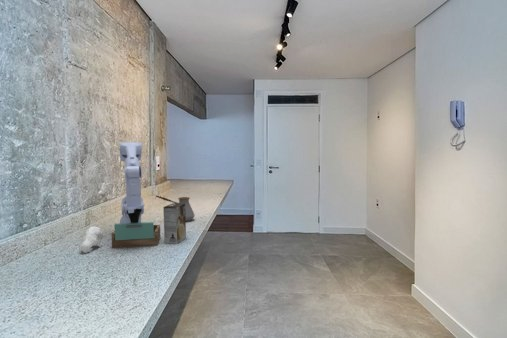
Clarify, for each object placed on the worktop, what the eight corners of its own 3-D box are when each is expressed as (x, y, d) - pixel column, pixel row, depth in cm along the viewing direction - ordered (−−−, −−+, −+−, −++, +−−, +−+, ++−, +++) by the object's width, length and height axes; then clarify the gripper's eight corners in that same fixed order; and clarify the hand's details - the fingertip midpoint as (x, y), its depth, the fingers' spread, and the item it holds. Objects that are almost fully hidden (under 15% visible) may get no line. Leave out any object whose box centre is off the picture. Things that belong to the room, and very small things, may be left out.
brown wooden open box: (118, 239, 142) (118, 226, 142) (160, 237, 146) (160, 224, 145) (112, 248, 131) (111, 233, 130) (157, 245, 134) (157, 231, 133)
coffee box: (173, 237, 146) (172, 202, 145) (186, 238, 145) (185, 203, 143) (163, 243, 137) (163, 206, 136) (177, 244, 136) (176, 207, 134)
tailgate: (116, 239, 132) (115, 223, 130) (154, 237, 134) (153, 221, 133) (115, 240, 130) (113, 225, 129) (153, 238, 133) (152, 223, 131)
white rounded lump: (103, 224, 134) (90, 235, 122) (104, 243, 136) (92, 256, 124) (87, 225, 134) (73, 235, 122) (89, 244, 135) (75, 256, 123)
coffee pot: (193, 217, 186) (193, 192, 185) (195, 222, 176) (195, 195, 174) (155, 220, 180) (154, 194, 179) (155, 224, 169) (154, 197, 168)
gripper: (140, 196, 125) (141, 230, 126) (146, 191, 139) (147, 222, 140) (122, 197, 124) (123, 231, 125) (129, 192, 138) (130, 223, 139)
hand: (134, 226), depth 132 cm, fingers closed, pressing on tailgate
